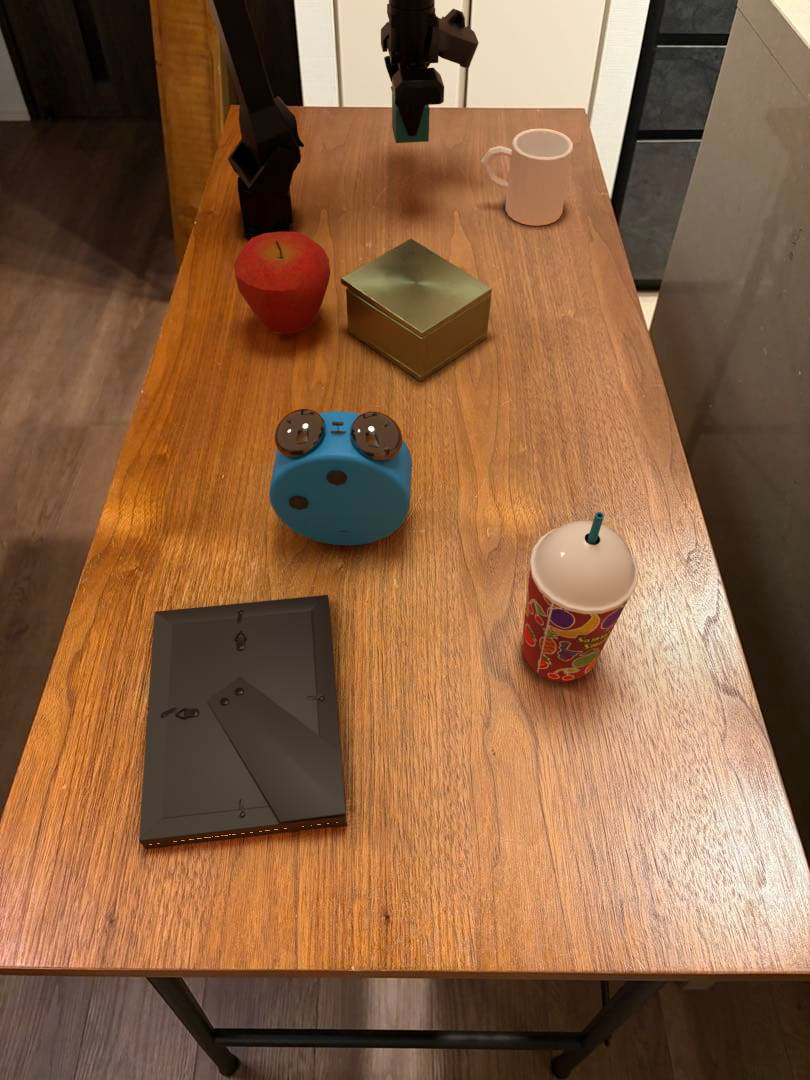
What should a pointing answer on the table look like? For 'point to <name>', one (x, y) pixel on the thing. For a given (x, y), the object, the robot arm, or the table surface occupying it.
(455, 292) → the lid
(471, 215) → the table surface
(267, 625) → the picture frame
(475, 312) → the brass box
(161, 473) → the table surface
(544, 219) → the mug
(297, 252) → the apple
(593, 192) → the table surface
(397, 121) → the block
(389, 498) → the alarm clock
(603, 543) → the smoothie
